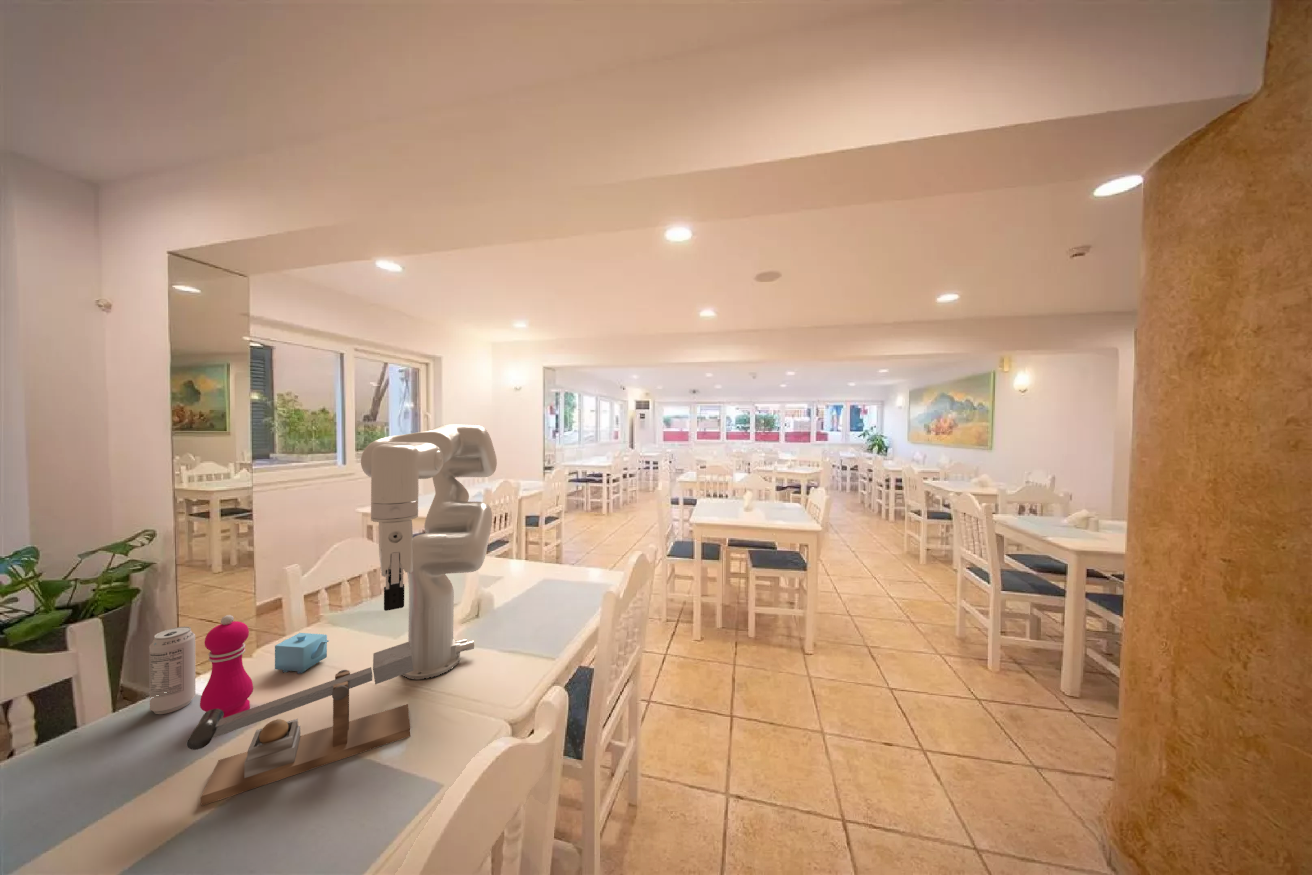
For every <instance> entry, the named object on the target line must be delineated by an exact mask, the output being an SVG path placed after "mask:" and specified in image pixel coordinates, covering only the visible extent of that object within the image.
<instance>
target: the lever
mask: <svg viewBox="0 0 1312 875" xmlns="http://www.w3.org/2000/svg"><path fill="white" fill-rule="evenodd" d="M372 654H373V656H372V659H373V660H372V662H373V663H372V667H371V666H370V667H368V668H365V669H362V670H358V671H355V672H353V673H350V675H347V676H344V677H341V678H338V679H332V680H329V681H326V682H323V683H321V684H318V685H315V686H313V687H312V686H311V687H310V688H307V689H303V690H301V691H298V692H295V693H293V694H290V695H287V696H283V697H281V698H280V697H279V698H278V699H274V700H272V701H269V702H266V703H264V704H261V705H257V706H254V707H252V708H251V707H250V709H248V710H245V711H243V712H240V713H237V714H234V715H231V716H228V717H225V718H223V717H224V712H223V711H222V710H221V709H212V710H209V711H207V712H204V714H203V715H202V716H201V718H200V720H199V721H198V723H197V725H196V726H195V727H194V730H193V731H192V733H191V734H190V736H189V737H188V740H186V747H187V748H188V749H189V750H192V751H193V750H194V751H196V750H197V751H198V750H202V749H203V748H205V747H207V745H209V744H210V742H211V741H212V739H214V738H217V737H220V736H223V735H226V734H228V733H231V732H234V731H237V730H239V729H242V728H245V727H248V726H250V725H253V724H256V723H258V722H261V721H265V720H266V719H267V720H268V719H271V718H273V717H276V716H278V715H281V714H283V713H287V712H289V711H292V710H295V709H299V708H300V707H303V706H305V705H309V704H311V703H314V702H317V701H320V700H322V699H325V698H328V697H330V696H331V697H332V693H333V686H334V684H338V683H342V682H346V681H348V689H349V690H350V689H353V688H356V687H358V686H361V685H364V684H367V683H369V682H372V681H373V677H374V685H379V684H381V683H384V682H386V681H389V680H392V679H395V678H397V677H400V676H403V674H406V673H409V672H411V671H414V670H413V662H412V654H411V647H410V641H409V642H408V641H407V642H403V643H400V644H398V645H395V646H392V647H389V648H385V649H382V650H380V651H377V652H374V653H372Z"/></svg>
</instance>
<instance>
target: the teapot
mask: <svg viewBox="0 0 1312 875" xmlns="http://www.w3.org/2000/svg"><path fill="white" fill-rule="evenodd" d="M328 642H330V640H329V639H328V635H327V634H324V633H323V634H322V633H321V634H320V633H311V632H310V633H309V632H299V633H296V634H294V635H292V636H291V637H289V638H287V639H284V640H283V641H282V642H280V643H277V644H276V645H274V670H278V671H279V670H281V671H282V673H288V672H291V671H292V672H296V674H300V675H301V674H303V673H305V672H306V671H307V670H308V669H310V668H311V667H313V666H315V665H317V664H316V663H318V662H319V663H320V662H321V661H323V660H324V659H326V658H327V657H328V644H327V643H328ZM319 663H318V664H319Z"/></svg>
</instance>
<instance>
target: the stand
mask: <svg viewBox="0 0 1312 875" xmlns="http://www.w3.org/2000/svg"><path fill="white" fill-rule="evenodd" d="M350 674H351V672H350V670H348V669H342V670H340V671H337V673H335V675H334V676H335V677H334V678H335V679H338V678H341V677H344V676H347V675H350ZM335 679H334V680H335ZM331 697H332V726H329V727H325V728H322V729H318V730H316V731H312V732H309V733H305V734H302V735H301V725H299V719H298V718H295V719H292V720H291V719H290V720H288V721H286V722H287V723H288V732H287V734H286V736H285V737H284V738H283V739H280V740H277V741H273V742H270V743H266V744H262V743H261V742H260V740H259V735H260V732H261V730H262V729H263V728H264V727H263V728H259V729H256V730H255V732H254V734H253V737H252V739H251V742H250V745H249V747H248V750H247V751H243V752H241V753H238V754H235V755H232V756H231V755H230V756H227V757H224V758H221V759H218V761H217V762H216V765H215V767H214V768H213V771H212V774H211V775H210V777H209V779H208V781H207V783H206V785H205V788H204V790H203V792H202V793H201V795H200V799H201V800H200V802H201V804H200V805H201V807H202V806H207V805H209V804H211V803H214V802H218V801H220V800H223V799H226V798H229V797H233V796H235V795H238V794H242V793H245V792H247V791H251V790H253V789H256V788H260V787H263V786H266V785H269V784H271V783H274V782H277V781H280V780H284V779H287V778H290V777H293V776H296V775H299V774H302V773H305V772H307V771H310V770H311V771H312V770H313V769H316V768H319V767H322V766H326V765H327V764H332V763H335V762H337V761H340V760H344V759H346V758H349V757H352V756H355V755H359V754H361V753H364V752H368V751H370V750H373V749H376V748H378V747H382V746H386V745H388V744H392V743H394V742H397V741H400V740H403V739H407V738H410V737H411V721H410V711H409V704H408V703H407V704H404V705H400V706H397V707H394V708H390V709H386V710H382V711H379V712H377V713H373V714H370V715H367V716H363V717H359V718H355V719H353V720H352V719H351V720H350V689H348V681H346V682H342V683H338V684H334V686H333V693H332V695H331Z"/></svg>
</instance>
